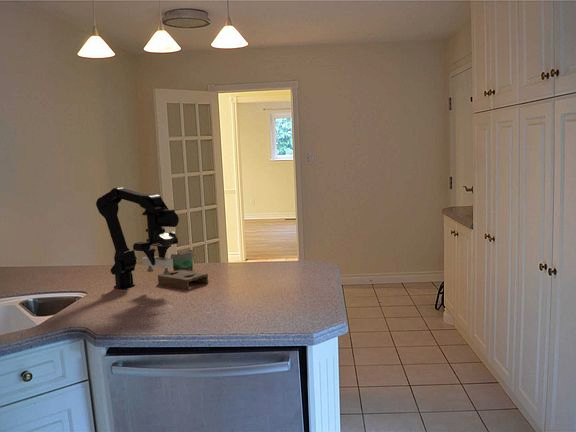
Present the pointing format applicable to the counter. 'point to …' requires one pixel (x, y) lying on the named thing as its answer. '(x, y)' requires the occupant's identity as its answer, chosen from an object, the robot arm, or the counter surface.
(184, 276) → the keyhole board
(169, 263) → the power strip
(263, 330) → the counter surface
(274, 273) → the counter surface
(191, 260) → the food container
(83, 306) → the counter surface
